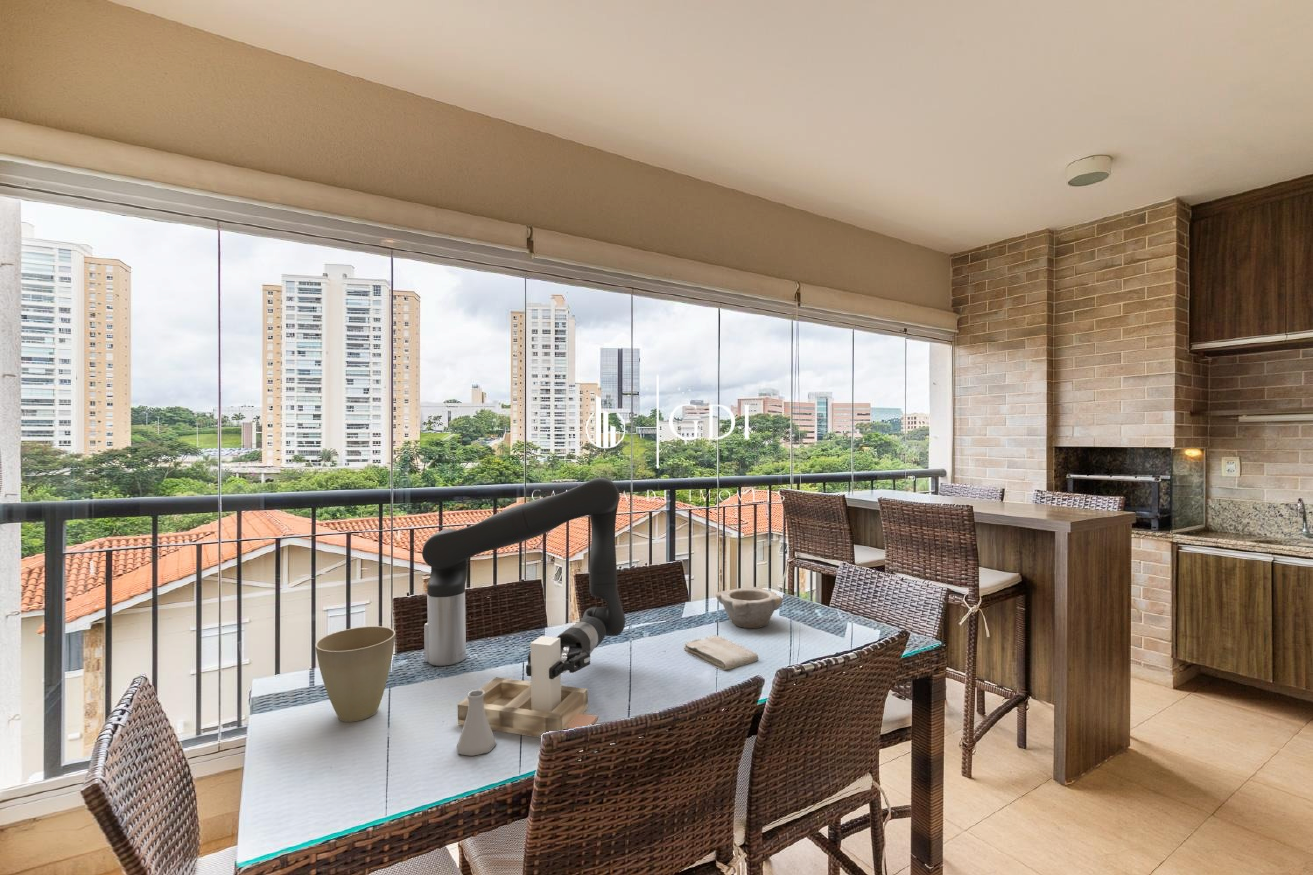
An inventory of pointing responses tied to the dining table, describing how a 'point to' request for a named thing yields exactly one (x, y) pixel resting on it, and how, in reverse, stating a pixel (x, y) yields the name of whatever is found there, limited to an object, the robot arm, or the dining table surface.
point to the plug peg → (545, 674)
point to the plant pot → (356, 669)
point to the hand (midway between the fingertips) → (539, 672)
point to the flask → (476, 728)
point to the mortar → (749, 606)
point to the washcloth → (720, 652)
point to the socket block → (529, 709)
